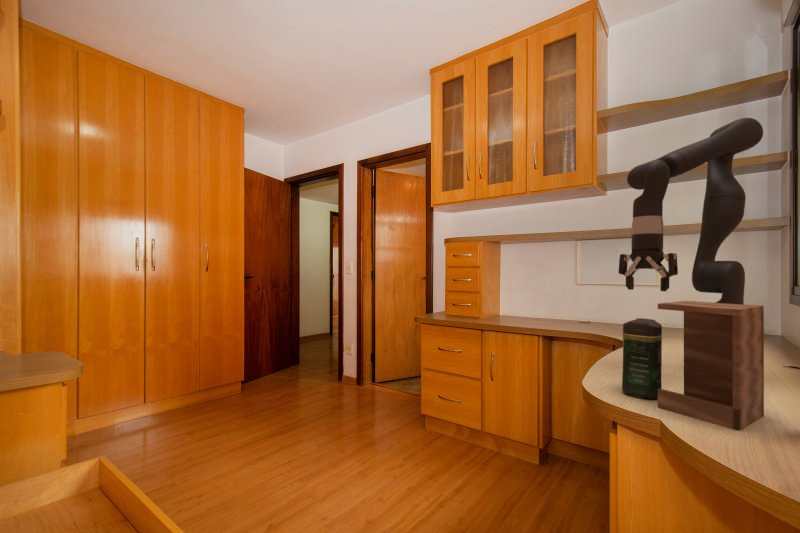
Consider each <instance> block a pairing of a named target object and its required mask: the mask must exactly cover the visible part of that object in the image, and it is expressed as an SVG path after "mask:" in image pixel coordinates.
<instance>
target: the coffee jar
mask: <svg viewBox="0 0 800 533" xmlns="http://www.w3.org/2000/svg"><path fill="white" fill-rule="evenodd" d="M662 330H663V326H662V324H661V323H660V322H658V321H656V320H655V319H650V318H643V317H641V318H640V317H637V318H636V319H633V320H629V321H627V322H624V323H623V325H622V376H621V377H622V380H621V386H622V387H621V388H622V389H621V390H622V392H623V393H625V394H628V395H630V396H632V397H636V398H640V399H643V398H646V399H658V389H663V388H662V364H663V363H662V361H663V360H662V357H663V356H662V349H663V343H662V341H663V331H662Z"/></svg>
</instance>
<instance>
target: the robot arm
mask: <svg viewBox="0 0 800 533" xmlns="http://www.w3.org/2000/svg"><path fill="white" fill-rule="evenodd" d="M763 137H764V128H763V126H762V124H761V123H760V121H758V120H757V119H755V118H753V117H743V118H738V119H736V120H734V121H732V122H729V123H727V124H724V125H723V126H721V127H719V128H717V129H715V130H713V132H711V134H710V135H709V137H706V138H704V139H701V140H698V141H696V142H693V143H691V144H688V145H685V146H682V147H681V148H680V147H679V148H677V149H675V150H673V151H671V152H667V153H666V154H664V155H662V156H661V157H658V158H656V159H653V160H650V161H647V162H645V163H642V164H639V165H636V166H635V167H632V169H631V170H630V171H629V172H628V174H627V176H626V177H627V178H626V180H627V181H626V182H627V184H628V186H629V187H631V189H634V190H638V191H641V190H643V192H642V193H641V195H639V196H638V197H636V198H635V199H634V200H633V202H632V222H631V247H630V248H631V249H630V250H631V253H630V254H625V253H621V254H619V262H618V275H619V274H620V275H622V276H624V277H625V288H627V290H629V291H632V290H634V287H635V278H634V275H635V274H636V273H637V271H639V270H643V269H644V270H646V269H647V270H651V269H652V270H655V271H656V272H657V273H659V275H660V276H661V277H660V292H667V290H669V288H670V278H671V277H674V276H677V275H678V274H679V268H678V267H679V266H678V255H677V253H675V252H674V253H673V252H670V253H664V220H663V217H664V216H663V212H664V211H663V208H664V206H663V203H664V202H663V201H664V199H665V196H666V193H667V189H668V186H669V183H670V179H671V178H676V177H678V176H680V175H683V174H685V173H687V172H690V171H692V170H693V169H694V170H695V169H696V168H697V167H701V166H702V165H705V164H706V163H707V166H706V168H707V171H706V172H707V174H706V182H705V183H706V184H705V194H704V200H703V204H702V205H703V207H702V214H701V225H700V233H699V240H698V245H697V249H696V254H695V258H694V261H693V262H694V263H693V266H692V271H691V283H692V287H693V288H694V290H695V291H697V292H700V293H710V294H721V298H720V299H719V300H717V301H716V302H714V303H727V304H743V305H745V303H744V302H745V300H744V298H745V284H746V271H745V267H744V266H743V264H742V263H741V262H739V261H737V260H716V258H717V257H716V256H717V253H718V251H719V248H720V247H721V245H722V244H723V242H724V241H725V240H726V239H727V238H728V237H729V236H730V235H731V234H732V232H733V231H734V230H735V229H736V228H737V227H738V226H739V225H740V223H741V222H742V220H743V218H744V215H745V209H746V208H745V207H746V193H745V190H744V188H743V186H742V185H741V183H740V182H739V181H738V180H737V178H736V177H735V175H734V173H733V161H734V157H735V156H736V155H737V154H740V153H743V152H745V151H748V150H750V149H752V148H754V147H755V146H756V145H758V144H759V143H760V142H761V141H762V139H763ZM664 259H665V261H666V262H667V266H668V267H667V268H668V270H667V269H666V267H665V266H664V264H663V263H662V262H663V261H664ZM630 260H631V261H632V263H631V265H629V267H628V262H630Z"/></svg>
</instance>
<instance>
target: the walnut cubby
mask: <svg viewBox="0 0 800 533" xmlns="http://www.w3.org/2000/svg"><path fill="white" fill-rule="evenodd" d="M657 309H658V310H665V311H677V312H683V394H682V393H680V392H674V391H671V390H667V389H663V388H662V389H658V397H657V408H658V409H659V408H660V409H663V410H666V411H670V412H673V413H676V414H679V415H682V416H686V417H691V418H694V419H696V420H697V419H698V420H700V421H705V422H708V423H711V424H715V425H718V426H722V427H725V426H726V427H725V428H728V427H729V429H732V430H736V431H741V430H744V429H745V428H746V427H748V426H750V425H751V424H753V423H755V422H756V421H757V420H759V419H761V418H762V417H764V416H765V409H764V408H765V405H764V404H765V394H764V393H765V386H764V385H765V384H764V383H765V381H764V380H765V379H764V378H765V376H764V374H765V373H764V372H765V371H764V370H765V369H764V368H765V365H764V364H765V363H764V361H765V360H764V359H765V358H764V356H765V353H764V352H765V350H764V349H765V348H764V347H765V346H764V343H765V341H764V340H765V338H764V337H765V335H764V334H765V329H764V328H765V327H764V326H765V325H764V322H765V321H764V320H765V317H764V314H765V313H764V312H765V309H764V305H756V304H755V305H754V304H744V305H743V304H727V303H715V302H711V301H709V302H707V301H696V300H695V301H694V300H693V301H692V300H682V301H681V300H680V301H679V300H678V301H672V302H660V303H657Z"/></svg>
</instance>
